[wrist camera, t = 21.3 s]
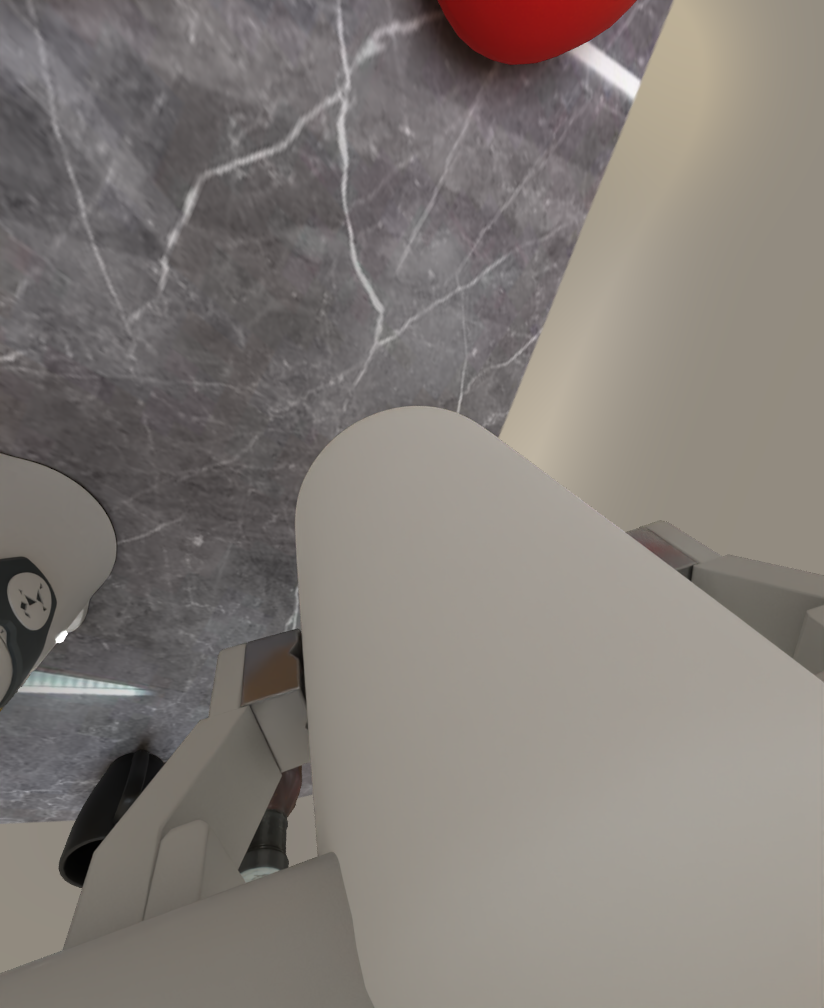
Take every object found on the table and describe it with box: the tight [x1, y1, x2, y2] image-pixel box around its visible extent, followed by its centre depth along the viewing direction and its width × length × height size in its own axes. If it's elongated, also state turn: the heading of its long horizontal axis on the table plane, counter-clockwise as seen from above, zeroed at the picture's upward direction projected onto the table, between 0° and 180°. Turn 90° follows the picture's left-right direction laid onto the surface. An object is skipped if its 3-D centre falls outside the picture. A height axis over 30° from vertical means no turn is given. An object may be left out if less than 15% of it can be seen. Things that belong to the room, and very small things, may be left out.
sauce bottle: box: [238, 765, 302, 883], centre depth 43 cm, size 7×6×20 cm
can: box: [295, 406, 824, 1008], centre depth 9 cm, size 6×6×12 cm
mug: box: [59, 750, 164, 888], centre depth 48 cm, size 8×12×10 cm
